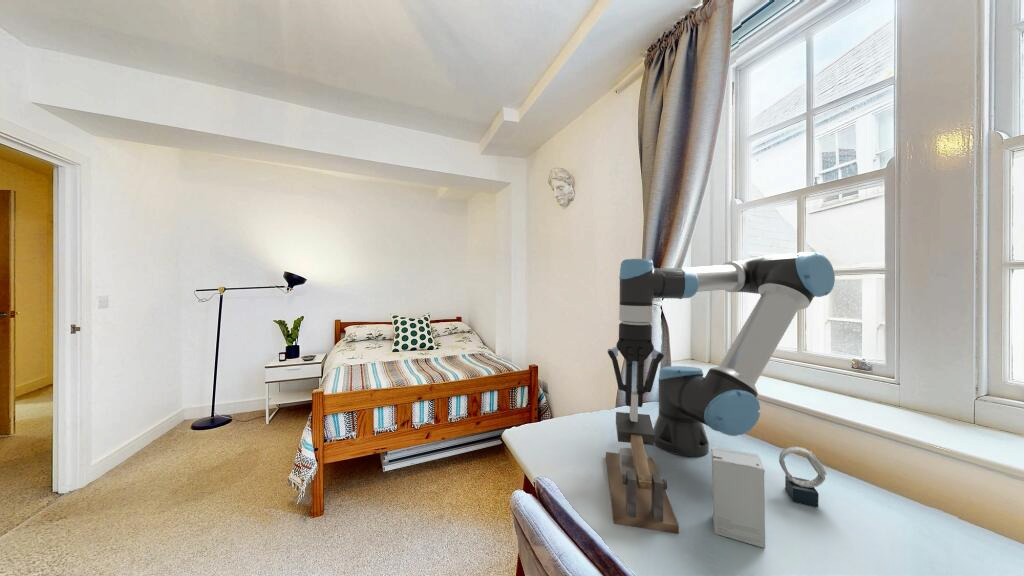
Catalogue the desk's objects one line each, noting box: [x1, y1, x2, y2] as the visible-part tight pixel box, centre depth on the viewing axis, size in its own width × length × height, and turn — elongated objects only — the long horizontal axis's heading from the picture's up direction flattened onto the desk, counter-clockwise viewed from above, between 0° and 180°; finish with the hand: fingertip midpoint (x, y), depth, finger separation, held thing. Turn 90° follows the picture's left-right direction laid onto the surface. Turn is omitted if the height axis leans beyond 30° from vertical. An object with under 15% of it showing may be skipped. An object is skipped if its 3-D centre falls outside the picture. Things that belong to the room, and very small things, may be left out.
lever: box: [615, 411, 655, 491], centre depth 75 cm, size 8×20×3 cm, turn 167°
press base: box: [605, 446, 680, 534], centre depth 78 cm, size 12×26×9 cm, turn 167°
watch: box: [778, 446, 828, 508], centre depth 75 cm, size 6×8×11 cm
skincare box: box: [711, 446, 766, 549], centre depth 64 cm, size 8×6×15 cm
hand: (633, 419), depth 81 cm, fingers closed
